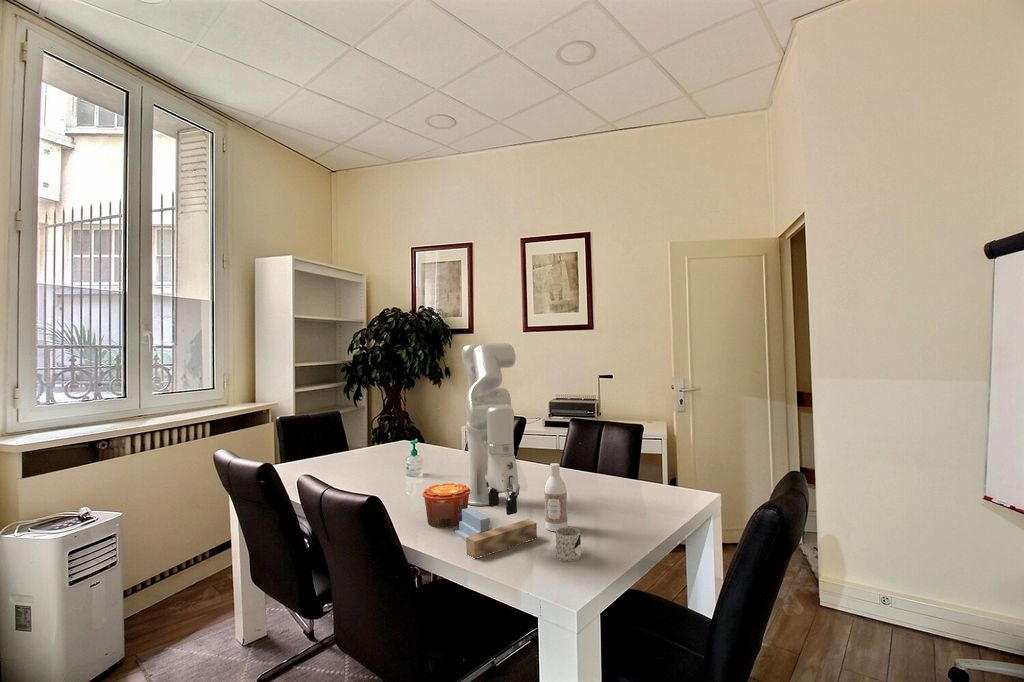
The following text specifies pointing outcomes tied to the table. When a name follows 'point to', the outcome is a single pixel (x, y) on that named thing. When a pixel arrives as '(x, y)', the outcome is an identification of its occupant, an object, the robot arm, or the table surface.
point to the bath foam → (555, 500)
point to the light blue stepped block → (472, 523)
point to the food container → (446, 504)
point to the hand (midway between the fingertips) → (502, 509)
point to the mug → (568, 544)
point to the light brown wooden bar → (500, 538)
